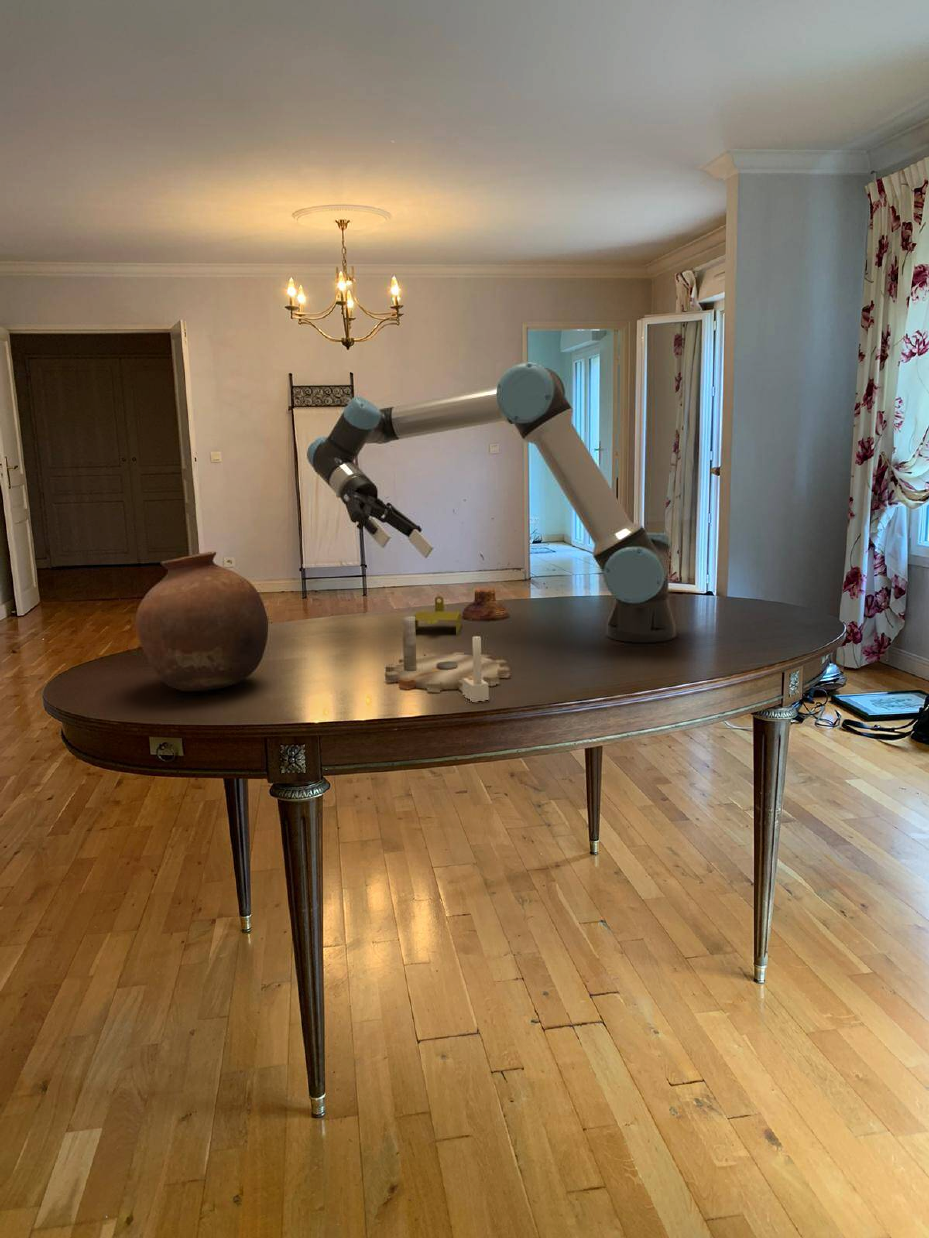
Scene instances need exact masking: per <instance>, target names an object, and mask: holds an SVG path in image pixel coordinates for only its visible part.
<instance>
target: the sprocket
mask: <svg viewBox="0 0 929 1238" xmlns="http://www.w3.org/2000/svg"><path fill="white" fill-rule="evenodd" d="M414 616H415V615H414ZM414 616H413V615H407V616H406V615H405V616H402V617H401V628H402V630H401V631H402V650H403V651H402V653H403V654H402V656H403V657H402V658H399V659H398V664H397V663H388V664H387V665H386V666H385V672H384V677H385V679H384V680H385V682H386V683H388V684H392V683H398V688H399V689H402V690H403V689H404V690H407V691H409V690H411V689H414V688H416V689H417V688H418V689H424V690H426V692H427V693H440V692H441V691H442V690H459V691H461V692H463V686H462V678H468V677H469V676H473V654H472V655H471V654H466V653H465V652H463V651H462V652H461V651H457V652H456V651H455V652H453V653H452V654H436V653H435V652H431V653H423V656H420V657H417V643H416V642H417V641H416V636H417V635H416V630H415V617H414ZM510 671H511V670H510V666H509V667H508V661H506V660H504V659H496V660H494V659H492V655H489V654H485V653H481V674H482V679H483V680H484V681H485V682H487V683H488V686H489V687H493V686H496V684H497V685H499V684H500V679H509V677H510V675H511V674H510V673H511V672H510Z"/></svg>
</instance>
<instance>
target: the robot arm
mask: <svg viewBox="0 0 929 1238" xmlns="http://www.w3.org/2000/svg"><path fill="white" fill-rule="evenodd" d="M573 414H574V410H573V408H572V406H571V404H570V403H569V401H568V399H567V397H566V389H565V386H564V382H563V381H562V379H561V378H560V376H559V375H558V374H557V373H556V372H555V371H554V370H552V369H549V367H548V368H547V367H544V366H542V365H541V364H539V363H536V362H532V361H529V362H528V361H527V362H526V361H525V362H522V363H518V364H515V365H513V366H511V367H510V368H508V369H507V370H506V371H505V372H504V373H503V374H502V376H501V377H500V379H499V381H498V384H497V386H493V387H489V388H483V389H477V390H473V391H466V392H463V393H457V394H452V395H447V396H446V395H445V396H441V397H436V398H431V399H427V400H420V401H415V402H412V403H411V402H410V403H406V404H400V405H396V406H390V407H385V408H380V409H379V408H378V407H377V406H376V405H375V404H374V403H372V402H371V401H369V400H368V399H365V398H362V397H361V396H354V397H352V399H351V400H350V401H349V402H348V403H347V405H346V406H345V407H344V409H343V412H342V414H341V415H340V417H339V419H337V422H336V424H335V425H334V427H333V429H332V430H331V431H330V433H329V435H328V436H320V437H318V438H316V439H315V440H314V442H311V443H310V444H309V447H308V448H307V450H306V451H307V452H306V457H307V458H306V459H307V461H308V463H309V464H310V466H311V467H312V468H313V470H314V472H315V473H316V474H317V475H318V476H319V477H320V478H321V479H322V481H324V482H325V483H326V484H327V485H328V486H329V487H330V489H331V490H332V491H333V492H334V493H335V494H336V495H335V496H336V497H337V498H338V499H339V498H340V499H341V501H342V503H343V504H344V505H345V508H346V511H347V514H348V516H349V519H350V522H351V523H353V524H356V523H358V524H357V525H356V528H357V529H358V530H362V529H363V528H364V529H365V531H366V532H367V533H368V534H369V535H370V536H371V537H372V538H373V540H374V541H375V542H376V543H377V544H378V545H379V546H380V548H382V549H383V548H385V547H386V546H387V544H388V542H389V541H390V540H391V538H392V536H391V535H390V534H389V533H388V531H386V530H385V529H384V527H383V526H382V525H381V524H380V523H379V522H381V523H383V524H385V523H387V524H388V525H389V526H391V527H392V528H394V529H396V531H398V532H400V533H401V534H403V535H405V536H406V537H407V540H408V541H409V542H410V544H411V545H413V547H414V548H416V550H417V551H418V552H419V553H420V554H421V555H422V556H423V558H424V559H425V558H426V559H427V558H428V557H429V555H430V554H431V553H432V551H433V550H434V546H433V545H432V544H431V543H430V542H429V541H428V540H427V539H426V537H425V536H423V534H422V533H421V532H422V531H423V529H422V528H421V526H420V525H419V524H418V525H417V524H416V523H415V522H413V521H412V520H411V519H410V518H409V517H407V516H406V515H405V514H403V513H402V512H401V511H400V510H398V509H397V508H396V507H395V506H394V505H393V504H392V503H391V502H386V503H385V502H384V501H383V500H382V499H380V498H379V496H378V494H379V491H378V487H377V486H376V484H375V483H373V481H372V480H371V479H370V478H369V477H368V476H367V474H366V473H365V472H364V471H363V470H362V469H361V468H360V467H359V465H357V464H356V462H355V460H356V458H357V457H358V455H360V452H361V451H362V450H363V448H364V446H365V445H366V444H378V445H382V444H388V443H390V442H392V441H397V440H403V439H408V438H410V439H411V438H415V437H419V436H420V437H421V436H426V435H431V434H437V433H442V432H443V433H444V432H448V431H452V430H453V431H454V430H458V429H465V428H466V429H467V428H471V427H476V426H481V425H482V426H483V425H487V424H492V423H499V422H505V423H507V424H508V425H514V426H515V428H516V430H517V432H518V433H519V435H520V436H521V438H522V440H523V441H524V442H526V443H531V444H533V445H535V447H536V448H537V451H538V452H539V454H540V455H541V457H542V458H543V460H544V461H545V464H546V465H547V467H548V468H549V470H550V472H551V473H552V476H553V477H554V479H555V480H556V482H557V484H558V485H559V487H560V489H561V491H562V492H563V493H564V495H565V497H566V498H567V501H568V502H569V503H570V506H571V507H572V509H573V511H574V512H575V513H576V515H577V517H578V519H579V520H580V522H581V524H582V525H583V527H584V528H585V531H586V532H587V534H588V536H589V537H590V539H591V540H592V542H593V544H594V546H593V551H592V557H593V558H594V560H595V562H596V563H597V565H598V567H599V568H600V571H601V572H602V574H603V582H604V583H605V586H606V588H607V590H608V591H609V593H610V594H611V595H612V596H614V602H613V605H612V608H611V611H610V615H609V617H608V619H607V620H608V621H607V623H606V636H607V638H609V639H612V640H616V641H620V642H621V641H622V642H628V643H660V642H666V641H670V640H673V639H674V638H675V637H676V631H677V630H676V623H675V620H674V617H673V613H672V611H671V607H670V604H669V579H670V578H669V577H670V576H669V575H670V570H669V569H670V550H671V544H670V537H669V535H668V534H666V533H662V532H646V530H645V527H644V526H643V525H642V524H638V523H633V521H631V520H630V518H629V516H628V515H627V513H626V511H625V509H624V508H623V506H622V504H621V503H620V501H619V500H618V498H617V497H616V494H615V493H614V491H613V489H612V487H611V486H610V485H609V482H608V481H607V480H606V478H605V476H604V474H603V472H602V471H601V469H600V467H599V466H598V463H596V461H595V459H594V458H593V456H592V453H590V451H589V450H588V448H587V446H586V444H585V442H584V441H583V439H582V437H581V436H580V434H579V432H578V431H577V429H576V428H575V425H574V424H573V423H572V417H573ZM377 520H378V521H379V522H378V521H377Z"/></svg>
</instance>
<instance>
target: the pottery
mask: <svg viewBox="0 0 929 1238" xmlns="http://www.w3.org/2000/svg"><path fill="white" fill-rule="evenodd" d="M216 555H217V551H215V550H214V551H207V552H203V553H202V552H201V553H195V554H192V555H187V556H183V557H177V558H175V559H169V560H163V561H161V562H160V564H161V566H162V567H163V568H165V569H166V570H167V574H166V575H165V576H164V577H163V578H162V579H161V580H160V581H159V582H157V583H156V584H155V585H154V586H153V587H152V588H150V590H149V591H148V592H147V593H146V594H145V596H144V597H143V599H142V600H141V602H140V603H139V606H138V608H137V610H136V614H135V626H136V632H137V635H138V639H139V642H140V644H141V646H142V650H143V652H144V654H145V656H146V659H147V660H148V662H149V664H150V666H151V668H152V669H153V671H154V672H155V673H156V675H157V676H158V677H159V678H160V680H161V681H162V682H164V683H165V684H166V685H168V686H169V687H171V688H173V689H174V690H175V689H176V690H178V691H183V692H203V691H210V690H217V689H223V688H226V687H230V686H233V685H236V684H237V683H240V682H241V681H243V680H245V679H247V678H248V677H249V676H250V675H252V674H253V673H254V672H255V671H256V669H257V668H258V666H259V665H260V664H261V661H262V660H263V656H264V654H265V650H266V645H267V640H268V634H269V618H268V615H267V611H266V607H265V604H264V602H263V600H262V598H261V595H260V594H259V592H258V590H257V589H256V588H255V586H254V585H253V584H252V583H251V582H250V581H249V579H247V578H245V577H243V576H242V575H240V574H239V573H238V572H236V571H233V570H231V569H229V568H227V567H223V566H221V565H218V564H216V563H215V561H214V558H215V557H216Z"/></svg>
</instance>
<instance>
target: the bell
mask: <svg viewBox="0 0 929 1238" xmlns="http://www.w3.org/2000/svg"><path fill="white" fill-rule="evenodd" d="M461 615H462V618H463V619H464V620H466V619H472V620H484V621H483V622H491V621H490V620H497V621H501V620H500V619H502V620H504V619H505V618H506V619H507V618H508V617H509V615H510V614H509V611H508V608H507V607H506V606H505V605H504V604H503V603H501V602H499V601H497V598H496V591H495V590H494V589H492V588H491V589H486V590H484V589H482V588H477V589H475V591H474V600H473V602H471V603H469V604H467V606H465V607H464V609H463V611H462V612H461Z"/></svg>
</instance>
